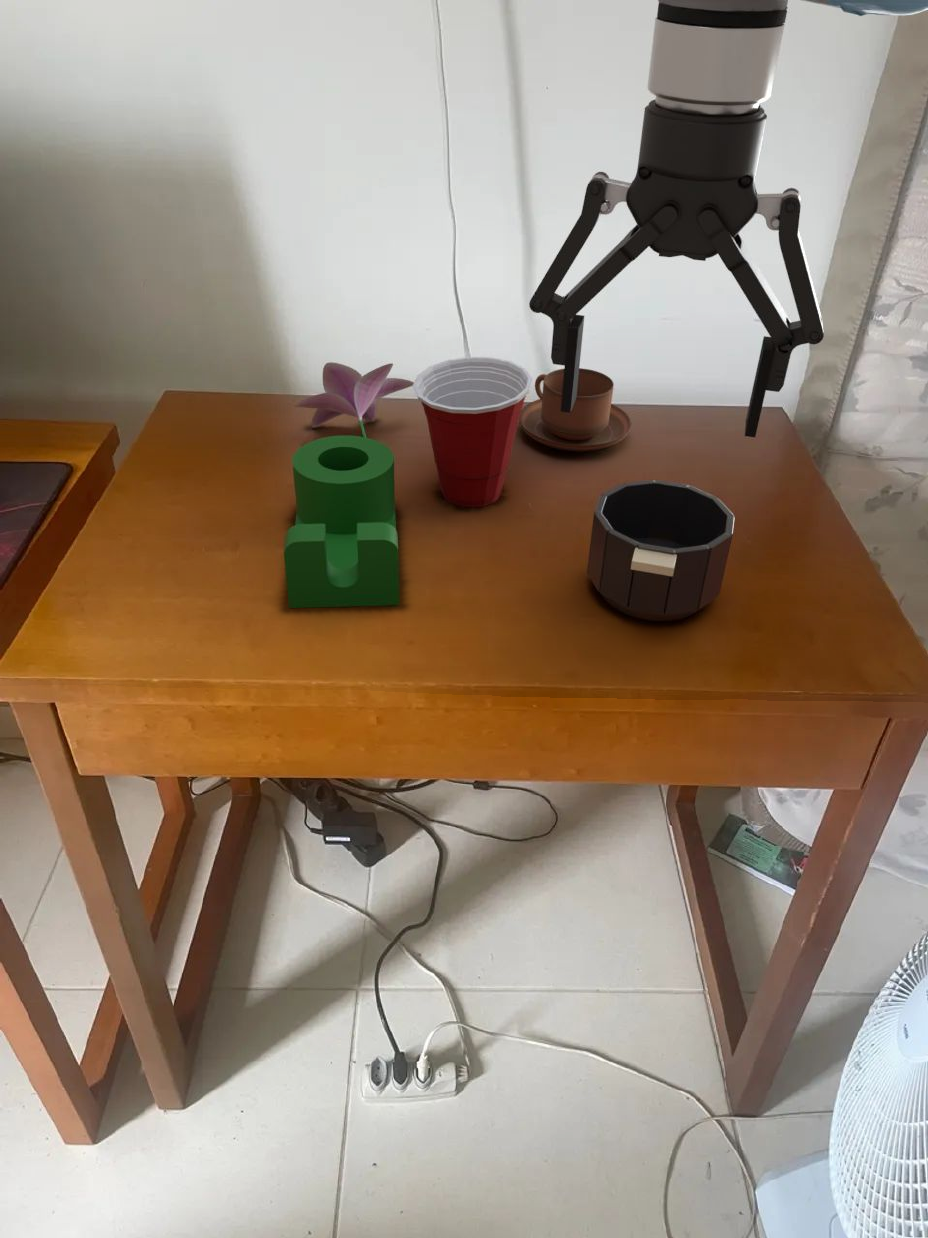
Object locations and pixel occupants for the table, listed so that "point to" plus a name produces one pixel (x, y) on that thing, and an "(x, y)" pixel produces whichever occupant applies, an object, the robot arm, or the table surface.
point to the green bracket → (343, 525)
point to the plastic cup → (472, 423)
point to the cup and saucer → (575, 414)
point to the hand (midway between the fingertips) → (657, 417)
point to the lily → (351, 393)
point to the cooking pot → (659, 546)
